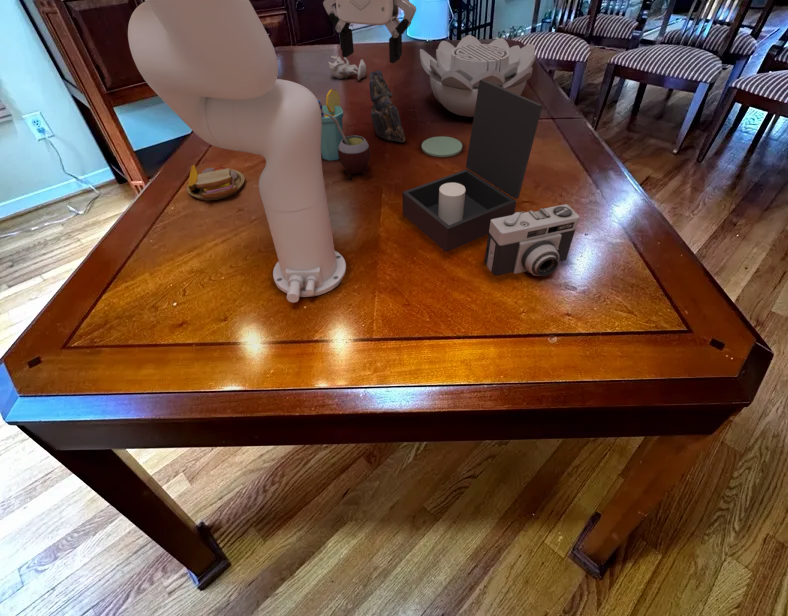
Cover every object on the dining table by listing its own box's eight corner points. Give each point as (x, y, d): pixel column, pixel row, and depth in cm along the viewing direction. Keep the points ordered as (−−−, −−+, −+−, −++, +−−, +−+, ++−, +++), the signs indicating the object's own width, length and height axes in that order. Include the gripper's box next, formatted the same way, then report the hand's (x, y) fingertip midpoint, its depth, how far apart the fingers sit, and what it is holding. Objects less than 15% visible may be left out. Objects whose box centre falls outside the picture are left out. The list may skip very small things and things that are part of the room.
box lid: (539, 105, 71) (542, 104, 71) (479, 79, 79) (483, 79, 80) (515, 199, 82) (518, 198, 82) (465, 167, 91) (468, 166, 91)
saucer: (464, 156, 107) (464, 154, 106) (422, 157, 107) (422, 155, 107) (459, 137, 114) (459, 135, 114) (420, 139, 114) (420, 137, 114)
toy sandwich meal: (247, 170, 105) (241, 151, 102) (244, 201, 96) (238, 181, 92) (192, 177, 104) (184, 157, 100) (183, 208, 94) (175, 188, 91)
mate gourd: (377, 170, 103) (373, 104, 93) (358, 186, 99) (351, 118, 88) (350, 163, 106) (343, 98, 95) (330, 178, 101) (321, 111, 91)
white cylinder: (464, 228, 85) (467, 195, 80) (438, 229, 85) (440, 196, 80) (461, 213, 89) (463, 182, 84) (436, 214, 89) (438, 182, 84)
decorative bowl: (554, 121, 119) (568, 59, 109) (454, 142, 112) (459, 78, 102) (495, 84, 139) (502, 29, 129) (407, 100, 132) (407, 43, 122)
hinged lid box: (446, 255, 81) (447, 228, 77) (402, 217, 90) (402, 191, 86) (511, 227, 86) (516, 200, 82) (464, 194, 95) (466, 168, 91)
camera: (503, 294, 73) (512, 245, 66) (482, 263, 79) (489, 215, 72) (578, 276, 76) (596, 227, 69) (553, 248, 81) (566, 200, 74)
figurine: (365, 68, 140) (327, 61, 140) (363, 88, 145) (326, 81, 144) (368, 56, 147) (332, 49, 146) (366, 76, 151) (331, 70, 150)
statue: (395, 148, 111) (393, 84, 100) (366, 132, 118) (361, 71, 107) (412, 141, 113) (412, 77, 103) (383, 126, 120) (380, 65, 109)
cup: (339, 172, 103) (330, 105, 93) (307, 170, 104) (295, 104, 94) (354, 145, 113) (348, 81, 102) (324, 143, 114) (315, 80, 103)
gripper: (304, -61, 70) (320, 59, 82) (405, -59, 65) (406, 69, 77) (329, -67, 75) (340, 47, 87) (424, -65, 70) (422, 57, 82)
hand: (371, 58), depth 82 cm, fingers open, 9 cm apart
